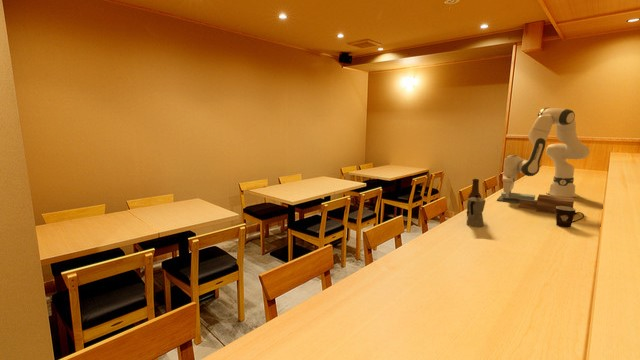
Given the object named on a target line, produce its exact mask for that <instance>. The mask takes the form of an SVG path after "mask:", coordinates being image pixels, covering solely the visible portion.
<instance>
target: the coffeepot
mask: <svg viewBox="0 0 640 360" xmlns="http://www.w3.org/2000/svg"><path fill="white" fill-rule="evenodd" d="M475 196H476V197H472V198H468V197H467V203H468V206H469V214H468V217H467V219H466V225H467V226H469V227H473V228H481V227H484V216H483V212H484V209H485V205H486V199H485V198H483V197H481V198H479V197H478V194H476V195H475Z"/></svg>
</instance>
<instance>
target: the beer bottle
mask: <svg viewBox="0 0 640 360" xmlns="http://www.w3.org/2000/svg"><path fill="white" fill-rule="evenodd" d="M479 182H480V180H479V179H478V178H473V179H472V187H471V191H470V192H469V194H468V196H467V199H468V198H472V197H476V196H475V195H476V194H478V197H479V198H482V195H481V193H480V190H479V189H480V188H479V187H480V186H479V184H480V183H479ZM468 214H469V206H468V202H467V207H466V217H467V218H468Z"/></svg>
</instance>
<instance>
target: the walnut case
mask: <svg viewBox="0 0 640 360" xmlns="http://www.w3.org/2000/svg"><path fill="white" fill-rule="evenodd" d="M536 200H537V202H530V201H522V200H520V201H519V203H518V208H521V209H528V210H535V211H536V212H538V213H549V214H553V215H554V214H555V215H556V207H557V206H566V207H571V208H574V203H575V197H560V196H553V195H549V194H538V197H537V198H536Z"/></svg>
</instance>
